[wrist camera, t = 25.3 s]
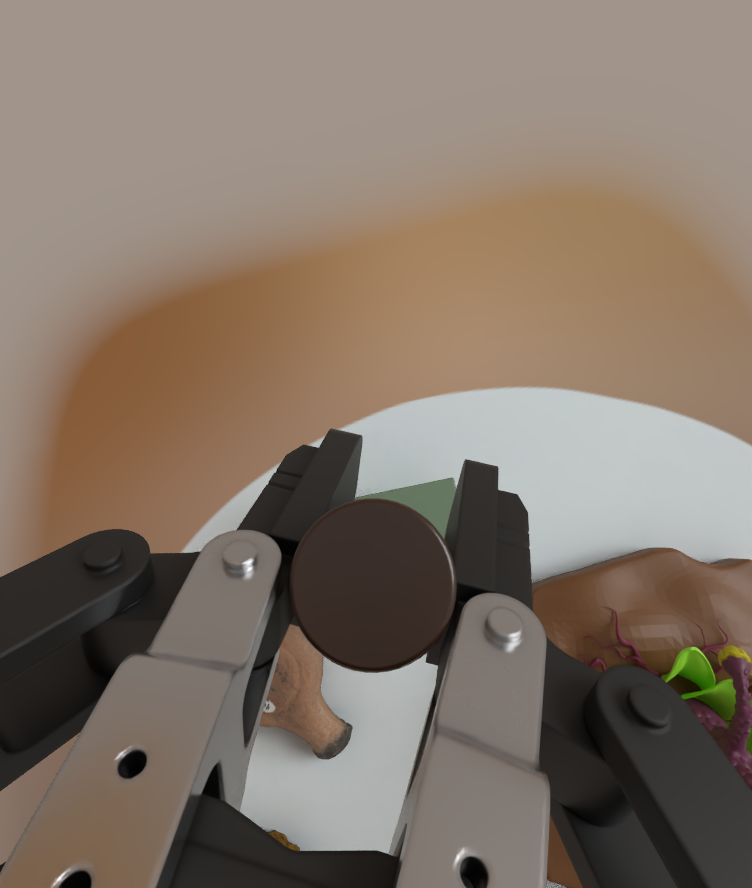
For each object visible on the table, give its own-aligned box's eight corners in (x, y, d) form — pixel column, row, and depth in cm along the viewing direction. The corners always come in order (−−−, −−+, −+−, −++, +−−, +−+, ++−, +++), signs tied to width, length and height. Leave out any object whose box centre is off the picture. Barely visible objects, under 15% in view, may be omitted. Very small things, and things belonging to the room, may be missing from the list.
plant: (473, 563, 33) (504, 571, 22) (774, 536, 32) (962, 531, 21) (517, 913, 29) (582, 1135, 18) (865, 894, 28) (1156, 1117, 17)
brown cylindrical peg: (355, 621, 15) (283, 717, 7) (338, 526, 16) (252, 498, 7) (449, 603, 15) (502, 675, 7) (429, 508, 16) (453, 459, 7)
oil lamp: (236, 750, 33) (357, 741, 32) (214, 787, 29) (351, 779, 28) (227, 611, 33) (345, 602, 33) (204, 629, 29) (338, 619, 29)
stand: (358, 586, 33) (342, 598, 26) (345, 513, 34) (325, 503, 27) (460, 565, 33) (475, 571, 25) (443, 492, 34) (453, 477, 26)
